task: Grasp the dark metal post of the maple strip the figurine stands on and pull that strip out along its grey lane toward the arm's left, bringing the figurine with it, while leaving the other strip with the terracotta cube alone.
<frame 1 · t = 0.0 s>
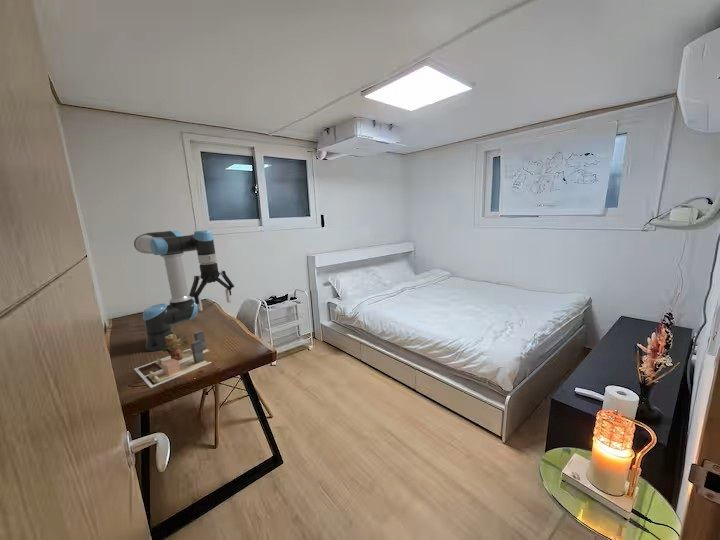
hand: (215, 306, 141), 28 cm above the table, fingers open, 13 cm apart
lane board: (174, 367, 141), on the table
figurine: (174, 361, 146), resting on strip a
terracotta cube: (172, 372, 134), point 1 cm above the table, touching strip b
strip a: (181, 348, 148), point 6 cm above the table, slide at 6.1 cm, touching figurine
strip b: (177, 360, 136), point 6 cm above the table, slide at 0.0 cm, touching terracotta cube
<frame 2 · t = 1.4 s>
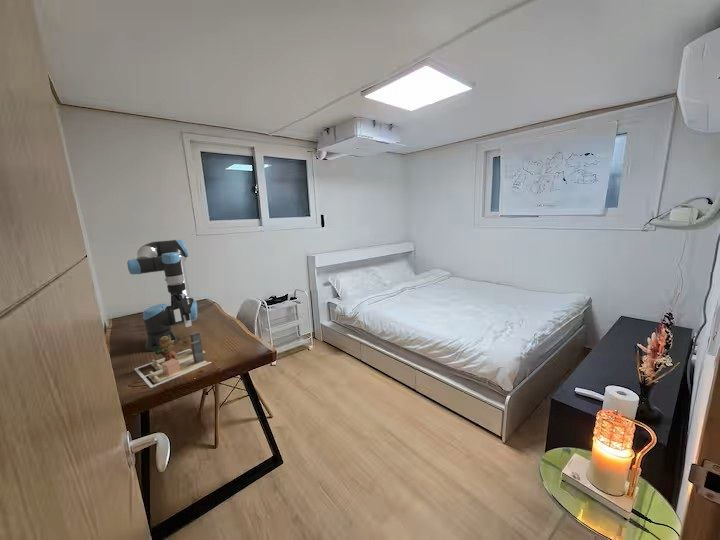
hand: (183, 323, 148), 18 cm above the table, fingers open, 13 cm apart
figurine: (168, 364, 144), resting on strip a
strip a: (177, 349, 147), point 6 cm above the table, slide at 4.2 cm, touching figurine
everything else where it was.
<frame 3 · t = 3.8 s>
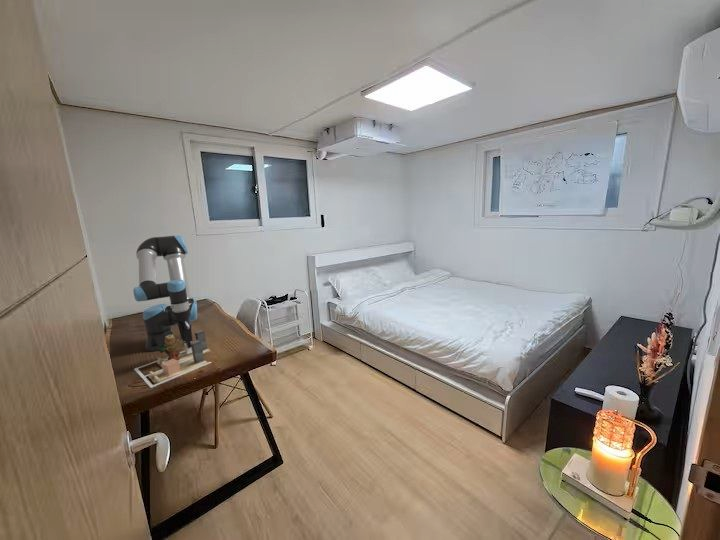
hand: (189, 352, 152), 2 cm above the table, fingers closed
figurine: (171, 363, 145), resting on strip a
strip a: (182, 348, 149), point 6 cm above the table, slide at 6.8 cm, touching figurine
everything else where it was.
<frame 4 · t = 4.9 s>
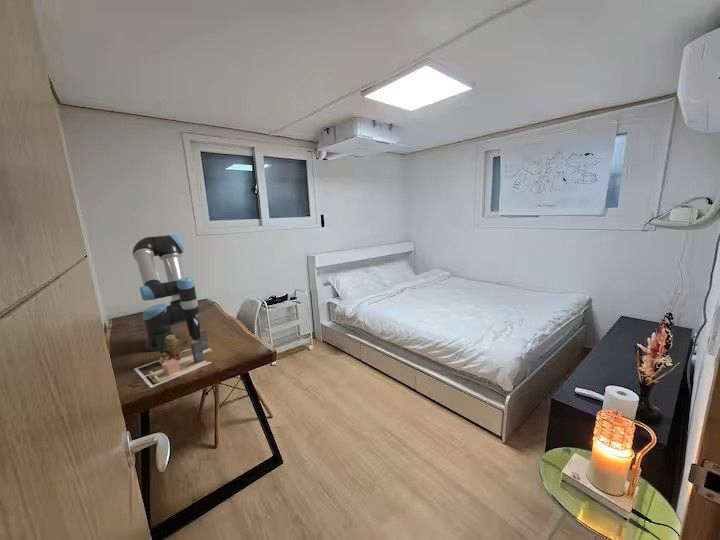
hand: (197, 349, 154), 2 cm above the table, fingers closed
figurine: (172, 362, 145), resting on strip a
strip a: (184, 347, 149), point 6 cm above the table, slide at 7.7 cm, touching figurine
everything else where it was.
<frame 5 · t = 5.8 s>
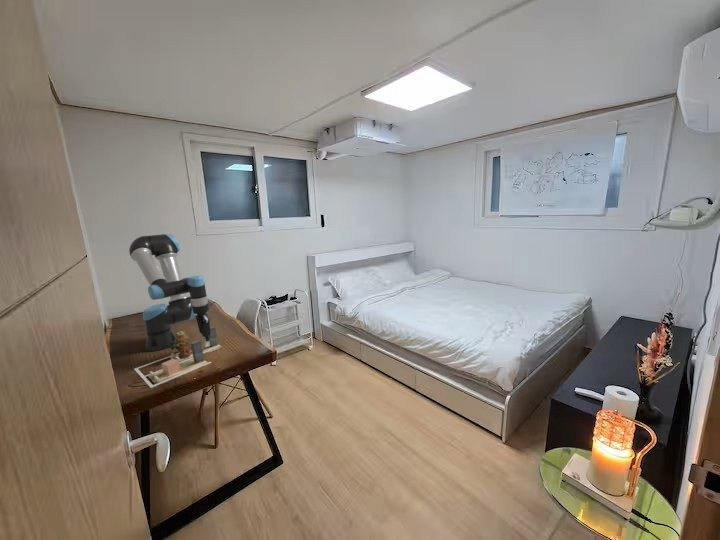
hand: (207, 345, 158), 2 cm above the table, fingers closed, pressing on strip a
figurine: (182, 359, 149), resting on strip a
strip a: (194, 343, 153), point 6 cm above the table, slide at 12.5 cm, touching figurine, gripper
everything else where it was.
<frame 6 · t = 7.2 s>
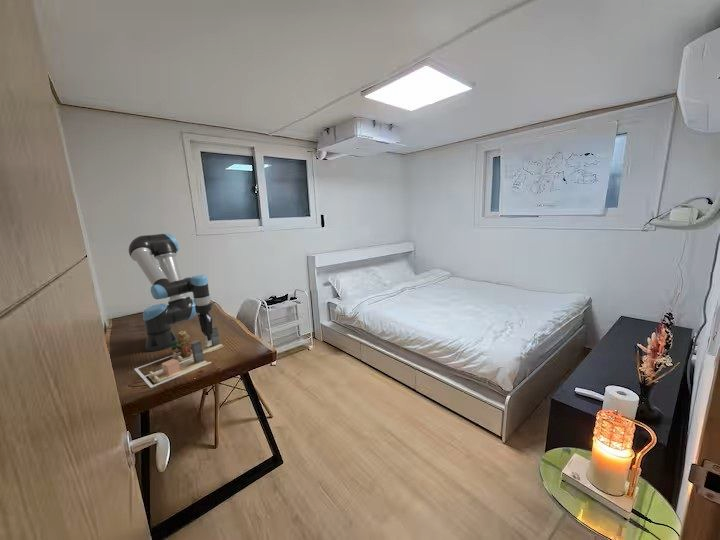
hand: (209, 345, 159), 2 cm above the table, fingers closed, pressing on strip a
strip a: (197, 343, 154), point 6 cm above the table, slide at 13.6 cm, touching figurine, gripper
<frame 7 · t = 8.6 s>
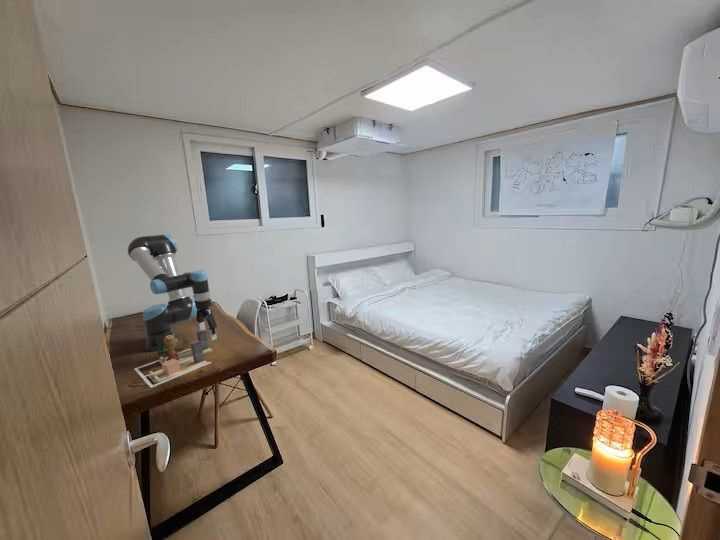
hand: (208, 336, 159), 7 cm above the table, fingers open, 13 cm apart
figurine: (171, 363, 144), resting on strip a
strip a: (184, 347, 149), point 6 cm above the table, slide at 7.7 cm, touching figurine
everything else where it was.
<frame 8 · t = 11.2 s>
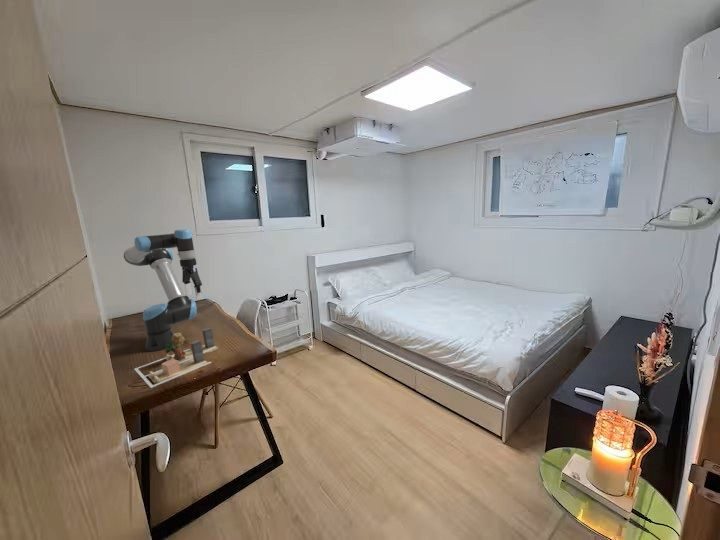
hand: (194, 296, 159), 29 cm above the table, fingers open, 13 cm apart
figurine: (177, 361, 146), resting on strip a
strip a: (190, 345, 152), point 6 cm above the table, slide at 10.6 cm, touching figurine
everything else where it was.
at the end: strip a slide at 9.3 cm; figurine inside the target area (5.6 cm from its centre), resting on strip a; figurine tilted 2° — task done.
